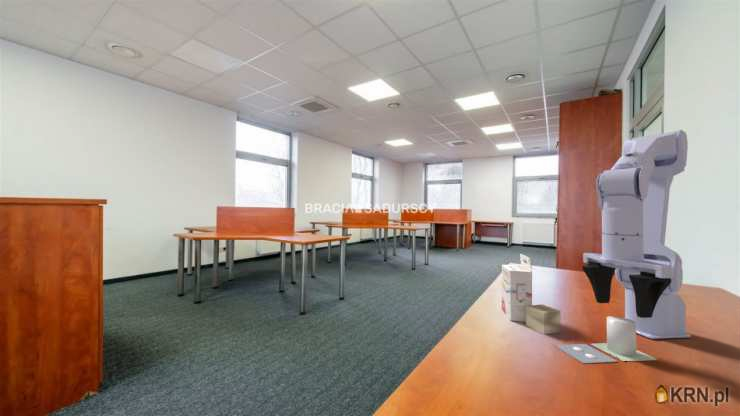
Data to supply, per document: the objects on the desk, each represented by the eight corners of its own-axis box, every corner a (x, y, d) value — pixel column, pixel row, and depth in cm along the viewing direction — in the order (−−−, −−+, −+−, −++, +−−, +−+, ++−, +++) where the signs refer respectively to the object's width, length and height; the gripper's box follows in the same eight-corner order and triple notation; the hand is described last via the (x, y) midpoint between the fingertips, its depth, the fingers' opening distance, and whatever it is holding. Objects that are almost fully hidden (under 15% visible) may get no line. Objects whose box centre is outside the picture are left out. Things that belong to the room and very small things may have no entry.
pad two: (585, 344, 55) (585, 343, 55) (617, 361, 48) (617, 360, 48) (554, 345, 54) (554, 344, 54) (583, 363, 48) (583, 362, 48)
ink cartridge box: (500, 309, 75) (500, 252, 75) (521, 310, 74) (521, 253, 74) (509, 321, 66) (509, 257, 67) (533, 323, 65) (533, 258, 66)
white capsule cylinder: (620, 345, 54) (619, 315, 54) (642, 355, 50) (642, 323, 50) (601, 346, 54) (600, 316, 54) (622, 356, 50) (622, 324, 50)
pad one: (620, 343, 56) (620, 342, 56) (657, 360, 49) (657, 358, 49) (590, 344, 55) (590, 343, 55) (623, 361, 48) (623, 360, 48)
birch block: (542, 324, 65) (542, 304, 65) (560, 332, 61) (560, 310, 61) (526, 326, 64) (526, 305, 64) (543, 334, 59) (543, 312, 59)
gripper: (569, 231, 59) (569, 297, 59) (644, 238, 45) (645, 325, 45) (600, 231, 60) (600, 297, 60) (684, 238, 46) (684, 324, 45)
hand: (622, 309), depth 52 cm, fingers open, 7 cm apart
